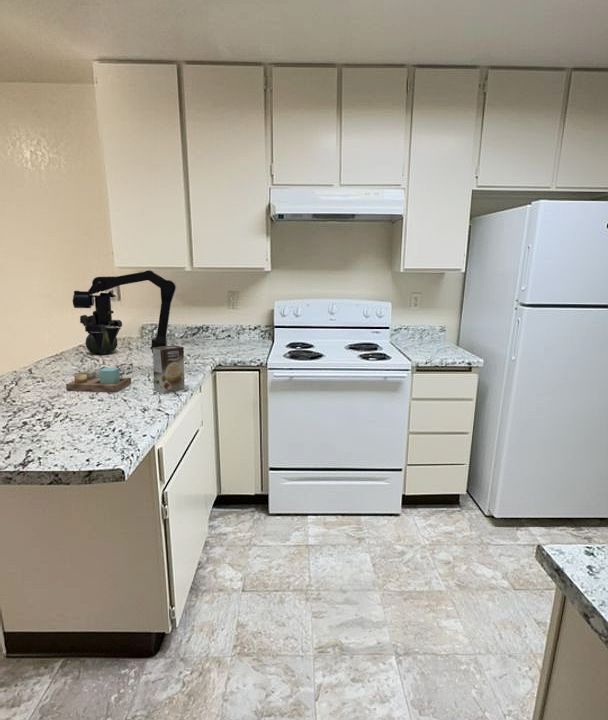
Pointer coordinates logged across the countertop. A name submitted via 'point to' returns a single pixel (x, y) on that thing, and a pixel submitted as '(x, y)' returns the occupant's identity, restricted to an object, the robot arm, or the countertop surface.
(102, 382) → the teal block
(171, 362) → the coffee box
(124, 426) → the countertop surface
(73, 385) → the puzzle board
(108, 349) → the squash
